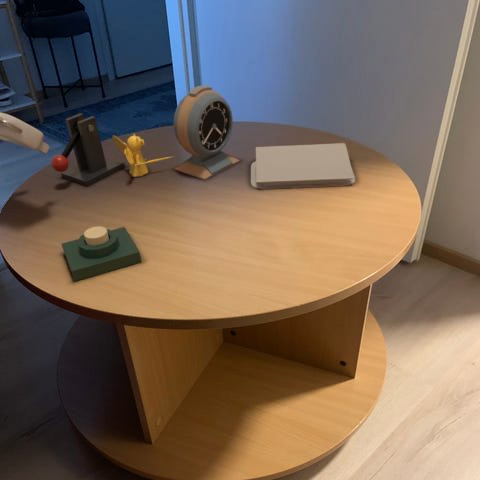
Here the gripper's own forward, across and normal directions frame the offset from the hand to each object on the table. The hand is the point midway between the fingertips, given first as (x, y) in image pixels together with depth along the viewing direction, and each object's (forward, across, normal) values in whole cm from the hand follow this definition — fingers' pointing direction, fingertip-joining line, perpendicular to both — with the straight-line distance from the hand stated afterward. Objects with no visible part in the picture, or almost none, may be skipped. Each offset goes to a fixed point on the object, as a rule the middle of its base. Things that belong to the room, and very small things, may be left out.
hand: (32, 145), depth 105 cm
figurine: (+24, -10, -7) cm, 27 cm away
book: (+36, -42, -19) cm, 58 cm away
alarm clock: (+30, -21, -13) cm, 39 cm away
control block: (+1, -30, +16) cm, 33 cm away
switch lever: (+11, +1, -4) cm, 12 cm away
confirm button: (-2, -30, +13) cm, 32 cm away
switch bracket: (+18, +1, -2) cm, 18 cm away
